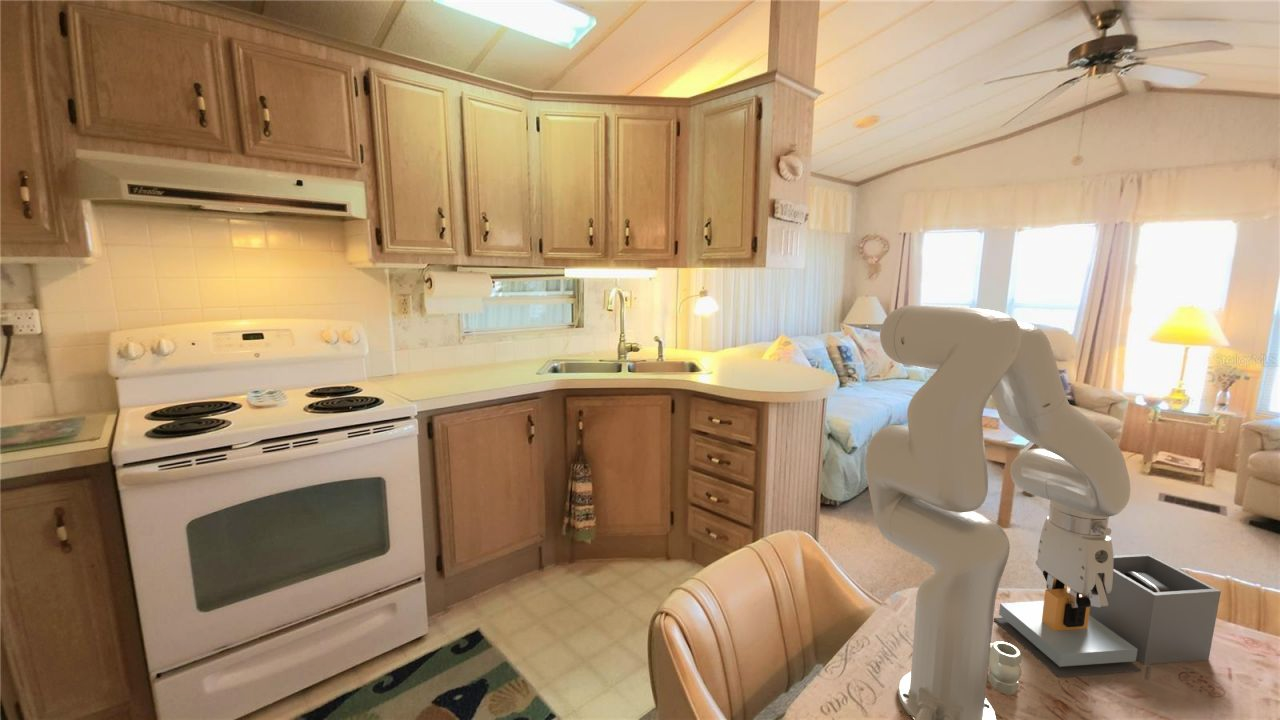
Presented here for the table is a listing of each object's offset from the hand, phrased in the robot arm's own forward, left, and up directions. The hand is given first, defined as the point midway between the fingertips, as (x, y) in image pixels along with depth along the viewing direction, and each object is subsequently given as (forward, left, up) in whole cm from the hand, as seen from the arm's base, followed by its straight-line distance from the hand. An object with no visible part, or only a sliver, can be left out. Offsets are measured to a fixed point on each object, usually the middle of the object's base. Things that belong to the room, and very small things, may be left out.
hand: (1064, 618), depth 89 cm
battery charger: (+11, -10, -5) cm, 16 cm away
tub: (+11, -10, -5) cm, 16 cm away
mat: (0, 0, -5) cm, 5 cm away
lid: (0, 0, -3) cm, 3 cm away
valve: (-14, +9, -5) cm, 18 cm away
